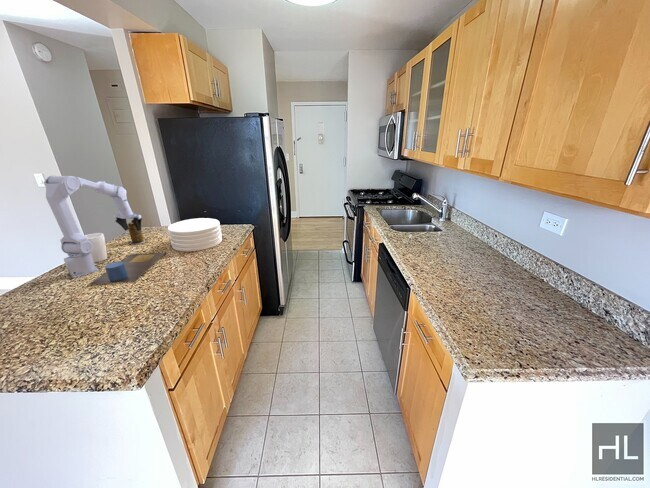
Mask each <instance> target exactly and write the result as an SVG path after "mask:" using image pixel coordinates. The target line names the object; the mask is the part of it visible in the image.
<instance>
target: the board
mask: <svg viewBox="0 0 650 488" xmlns="http://www.w3.org/2000/svg"><path fill="white" fill-rule="evenodd" d="M154 254H156V255H154ZM166 254H167V252H153V253H134V254H129V255H128V256H126V257H125V258H124V259H122V260H121V261H120V262H123V263H124V266H125V269H126V272H127V277H126V278H124V279H122V280H119V281H110V280H109V278H108V275H107V272H106V271H105V272H104V273H103V274H101V275H100V276H99V277H97V278H96V279H95V280H93V281H92V282H90V283H89V285H103V284H118V283H119V284H121V283H133V282H134V283H135V282H136V281H137V280H138V279H140V278H141V276H143V275H144V274H145V273H146V272H147V271H148V270H149V269H150V268H152V266H154V265H155V264H156V263H157V262H158V261H159V260H160V259H162V258H163V257H164V256H165V255H166ZM138 255H140V256H142V255H149V257H150V255H152V256H153V255H154V256H153V257H152V258H151V259H150V258H149V259H150V260H149V261H148V259H147V260H146V261H144V260H141V262H137V261H136V262H133V260H132V259H134V258H137V257H136V256H138ZM138 258H139V257H138ZM130 261H132V262H130ZM138 261H139V260H138ZM143 261H144V262H143Z"/></svg>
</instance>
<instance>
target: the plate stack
mask: <svg viewBox="0 0 650 488" xmlns="http://www.w3.org/2000/svg"><path fill="white" fill-rule="evenodd" d="M167 231H168V236H169V240H170V244H171V245H170V246H171V248H172V249H173V250H174V251H179V252H197V251H203V250H207V249H210V248H213V247H215V246H218V245H219V244H221V243H222V241H223V237H222V236H223V235H222V229H221V223H220V220H218V219H216V218H210V217H206V218H205V217H198V218H189V219H184V220H179V221H177V222H174V223H171V224H169V225H168V226H167Z"/></svg>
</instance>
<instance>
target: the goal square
mask: <svg viewBox="0 0 650 488" xmlns="http://www.w3.org/2000/svg"><path fill="white" fill-rule="evenodd" d="M154 255H156V254H154ZM154 255H153V256H154ZM153 256H152V255H150V257H149V255H142V256H140V255H138V256H136V257H137V258H134V259H132V260H133V262H136V261H137V262H141V260H144V261H146V260H147V259H148V261H149V260H150V259H151V258H152V257H153ZM138 257H139V258H138ZM149 258H150V259H149ZM138 260H139V261H138ZM144 261H143V262H144ZM130 262H132V261H130Z"/></svg>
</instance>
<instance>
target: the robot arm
mask: <svg viewBox="0 0 650 488" xmlns="http://www.w3.org/2000/svg"><path fill="white" fill-rule="evenodd" d="M43 185H44V187H45V199H46V201H47V203H48V205H49V207H50V210H51V211H52V214H53V216H54V218H55V220H56V222H57V225H58V227H59V229H60V231H61V233H62V235H63V237H62V238H61V239H60V240H59V241H60V243H61V247H60V248H61V251H62V253H64V254H67V256H66V257H64V258H63V262H64V264H65V266H66V269H67V273H68V274H69V276H71V278H73V279H74V278H78V277H82V276H85V275H88V274H92V273H95V272H99V271H100V269H99V268H98V267H97V266H96V264H95V262H94V261H93V259H92V256H91V251H92V249H93V246H92V244H91V242H89V241H88V239H87V237H85V236H84V235H85V234H83V233H81V231H80V229H79V227H78V225H77V222H76V220H75V217H74V215H73V213H72V210H71V208H70V206H69V204H68V201H67V198H68V197H69V196H71V195H72V194H73V193H75V192H76V191H78V190H79V189H80V188H86V189H91V190H94V191H95V193H97V194H101V195H105V196H108V197H110V198H111V199H112V201H113V203H114V206H115V207H116V210H117V211H118V213H117V214H114V215H113V219H114V220H115V221H114V222H115V223H117V224H118V225H119V226H121V228H122V229H123V230H124V231H129V230H128V229H129V227H128V222H127V220H128V219H129V220H130V219H131V221H130V223H131V222H133V224H134V225H135V226H136V228H137V230H138V231H140V230H141V231H142V220H143V217H142V215H141V214H137V213H134V212H133V210H132V209H131V206H130V203H129V201H128V197H127V194H128V193H127V190H126V188H124V187H123V186H121V185H115V184H114V183H107V182H106V181H104V180H101V181H97V182H94V181H91V180H88V179H85V178H83V177H78V176H73V175H53V174H52V175H49V176H47V177H46V179H44V181H43Z"/></svg>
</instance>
